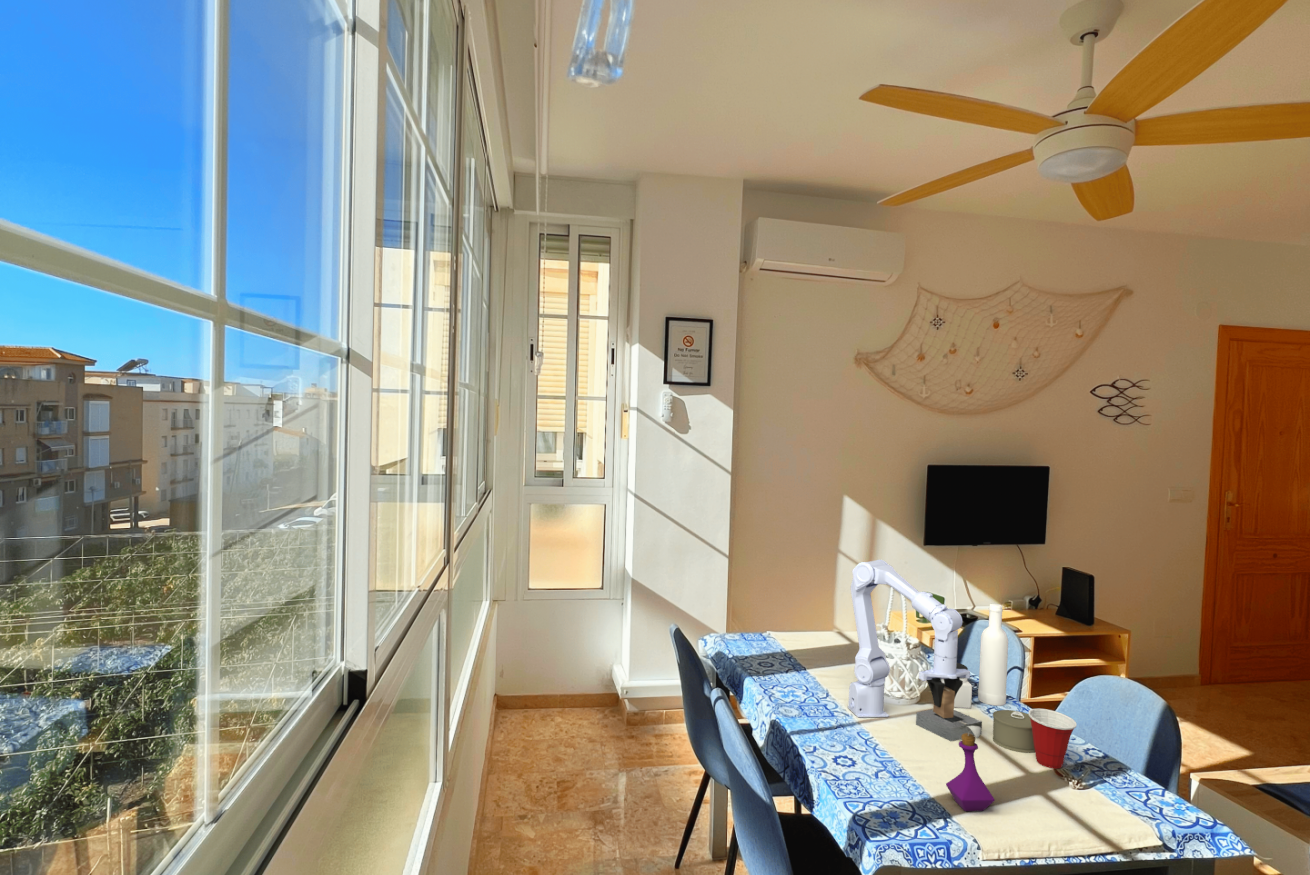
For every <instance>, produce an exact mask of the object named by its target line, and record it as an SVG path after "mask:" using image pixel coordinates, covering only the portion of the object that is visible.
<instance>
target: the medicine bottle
mask: <svg viewBox="0 0 1310 875" xmlns="http://www.w3.org/2000/svg"><path fill="white" fill-rule="evenodd" d="M956 669H966V670H968V671H969V668H968V667H967V665H965V664H962V663H960V662H957V663H956ZM960 680H962V681H963V685H962V686H961V687H960V689H959V690H958V692H957V694H956V696H955V699H954V708H958V709H972V695H973V694H972V693H973V685H972V684H971V683H970V682H969V680H968V678H960ZM940 681H941V682H942V683H944V679H940Z"/></svg>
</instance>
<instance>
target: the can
mask: <svg viewBox="0 0 1310 875" xmlns="http://www.w3.org/2000/svg"><path fill="white" fill-rule="evenodd" d="M992 717H993V721H992V722H993V724H992V726H993V727H992V728H993V729H992V742H994V743H995V744H996V745H997V746H999V747H1001V748H1004V749H1006V750H1007V751H1008V750H1009V751H1012V752H1017V753H1023V754H1034V753H1035V748H1034V741H1033V732H1032V726H1031V719H1030V716H1029V713H1028V712H1024V711H1019V710H1012V709H1010V710H1009V709H999V710H996V711H994V712H993V713H992Z"/></svg>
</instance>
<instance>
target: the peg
mask: <svg viewBox="0 0 1310 875" xmlns="http://www.w3.org/2000/svg"><path fill="white" fill-rule="evenodd" d="M954 697H955V691H953V690H951V689H950V688H948V687H946V686H945V687H944V690H943V694H942V703H941V707H937V706H936V705H934V704H933V708H932V709H933V712H935V713H936V714H938V715H939V716H941V717H943V718H953V715H954V710H955V707H954Z"/></svg>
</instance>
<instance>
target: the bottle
mask: <svg viewBox="0 0 1310 875" xmlns="http://www.w3.org/2000/svg"><path fill="white" fill-rule="evenodd" d="M1003 612H1004V611H1003V605H1002V604H1000V603H990V604H989V606H988V626H987V627H986V628H984V629H983V630H982V632H981V634H980V650H979V652H980V653H979V669H978V671H979V674H978V675H979V676H978V688H977V689H978V691H977V698H978V699H977V700H978V701H980V702H981V703H983V704H986V705H989V706H994V707H995V706H996V707H1001V706H1004V705H1005V704H1006V703H1007V702H1006V701H1007V682H1008V681H1007V680H1008V679H1007V677H1008V656H1009V638H1008V634H1007V632H1006V631H1005V630H1004V628H1002V620H1003Z"/></svg>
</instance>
